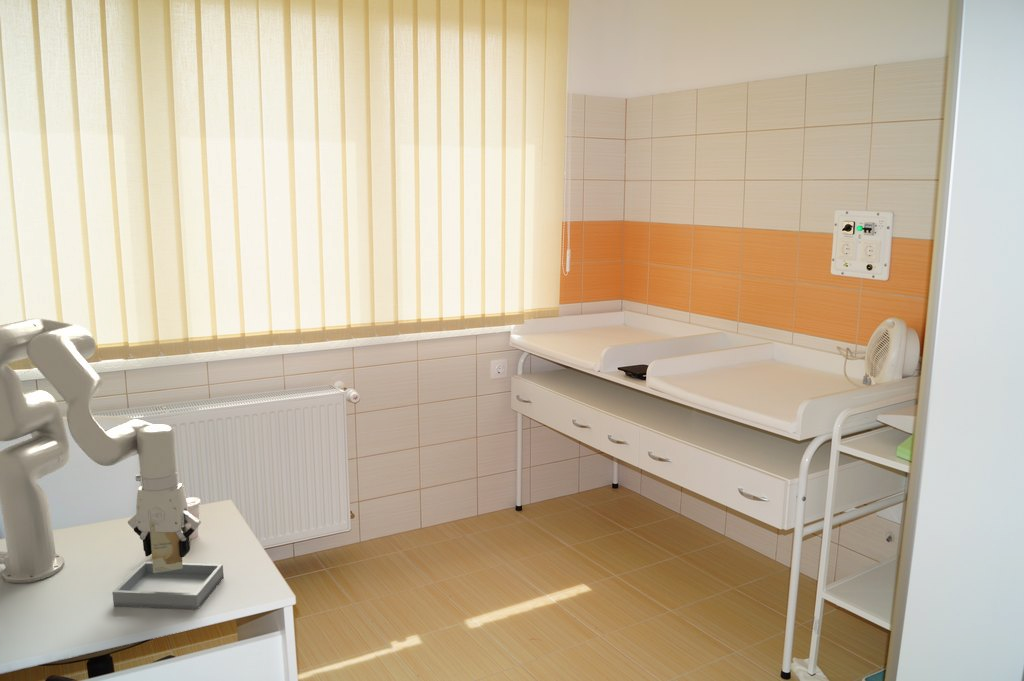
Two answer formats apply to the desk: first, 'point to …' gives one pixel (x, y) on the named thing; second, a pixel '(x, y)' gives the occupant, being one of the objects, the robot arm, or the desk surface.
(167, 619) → the desk surface
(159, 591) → the tray
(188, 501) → the smoothie
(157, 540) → the skincare box
